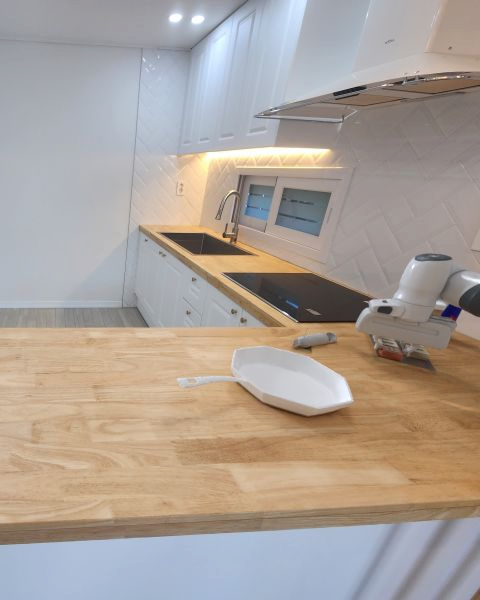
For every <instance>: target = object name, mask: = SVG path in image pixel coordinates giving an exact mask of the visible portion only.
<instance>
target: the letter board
mask: <svg viewBox="0 0 480 600" xmlns="http://www.w3.org/2000/svg"><path fill="white" fill-rule="evenodd" d="M368 336H369V338H370V341H371V343H372V345H373V347H374V346H375V343H376V342H374V339H373V335H371V334H368ZM395 342H396V344H397V345H398V347H399V348H398V349H400V351H402V349H403V348H402V346H401V345H400V342H399V341H398V340H395ZM374 350H375V353H376V355H377V357H378V358H381V359H385V360H388V361H389V360H390V361H393V362H398V363H402V364H406V365H409V366H413V367H418V368H422V369H426V370H430V371H433V372H437V369H436V368H435V366H434V365H433V363H432V362H431V361H430V359H429V358H428V359H427V361H426V360H422V359H418V358H414V357H410V356H409V357H405V356H403V357H402V359H401V361H398V360H394V359H390V358H386V357H382V356H381V355H380V353H379V351H378V350H376V349H374Z"/></svg>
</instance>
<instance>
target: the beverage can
mask: <svg viewBox="0 0 480 600" xmlns="http://www.w3.org/2000/svg"><path fill="white" fill-rule="evenodd" d="M439 302H442V303H445V304H446V308H445V310H444V311H443V312H442V314H441V317H448V318H452V320H454V321H455V322H456V323H457V320H458V318H459V317H460V315H461V312H462V311H463V309H461V308H459V307H456V306H454V305H451V304H449V303H446V302H445V301H442V300H439ZM451 322H452V321H451Z"/></svg>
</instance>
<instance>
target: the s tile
mask: <svg viewBox="0 0 480 600" xmlns="http://www.w3.org/2000/svg"><path fill="white" fill-rule="evenodd" d="M381 349H382V350H378V351H379V353H380V355H381V356H382V357H386V358H390V359H394V360H398V361H401V359H402V357H403V354H402V352H401V351H400V349H397V348H393V347H389V346H384V345H383V347H382V348H381Z"/></svg>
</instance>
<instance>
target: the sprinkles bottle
mask: <svg viewBox="0 0 480 600" xmlns="http://www.w3.org/2000/svg"><path fill="white" fill-rule="evenodd" d="M445 308H446V304H445V303H442V302H440V301H439V300H437V301H436V305H435V307H434V310H433V312H432V314H433V315H438V316H441V314H442V312H443V311H444V310H445Z"/></svg>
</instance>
